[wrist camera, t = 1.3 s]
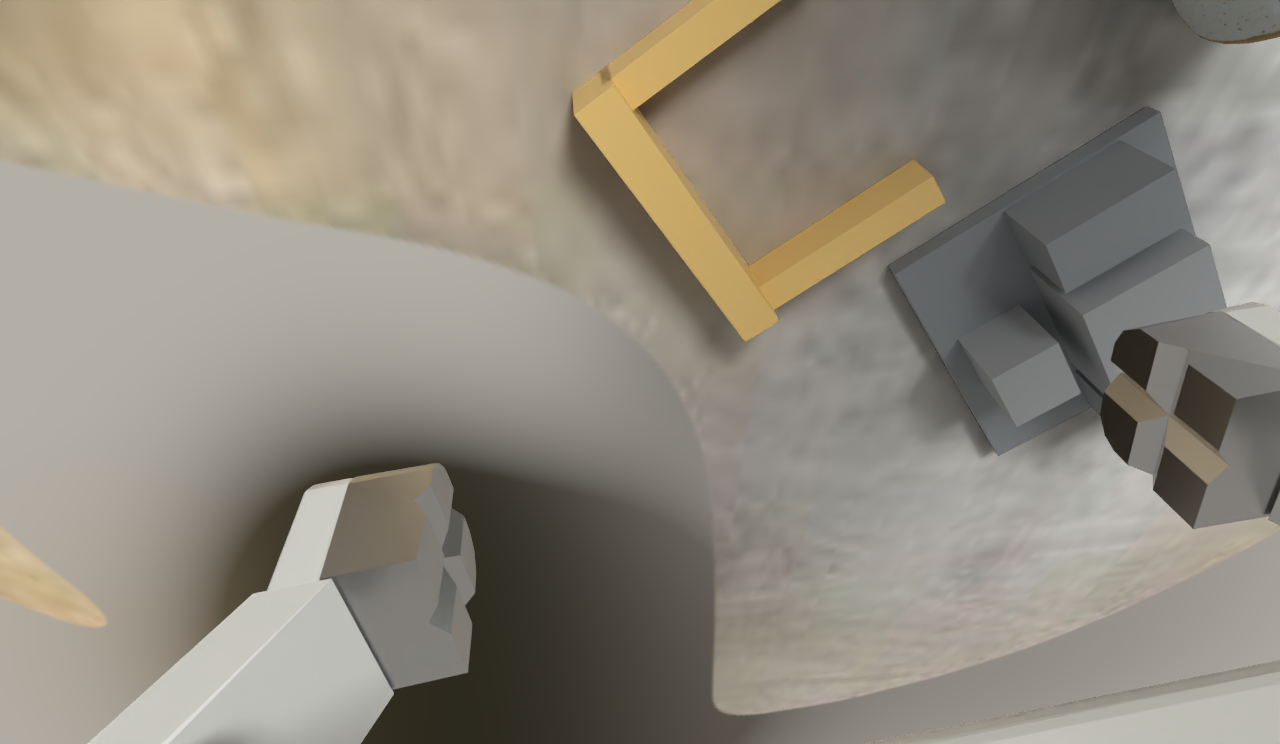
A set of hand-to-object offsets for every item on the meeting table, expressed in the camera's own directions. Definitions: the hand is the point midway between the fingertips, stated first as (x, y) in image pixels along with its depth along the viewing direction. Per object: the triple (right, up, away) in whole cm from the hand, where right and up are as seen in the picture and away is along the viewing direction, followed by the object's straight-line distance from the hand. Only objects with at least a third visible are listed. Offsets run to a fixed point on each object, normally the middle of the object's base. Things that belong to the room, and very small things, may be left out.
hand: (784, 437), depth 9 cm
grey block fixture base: (+22, +5, +34) cm, 41 cm away
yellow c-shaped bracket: (+4, +12, +27) cm, 30 cm away
